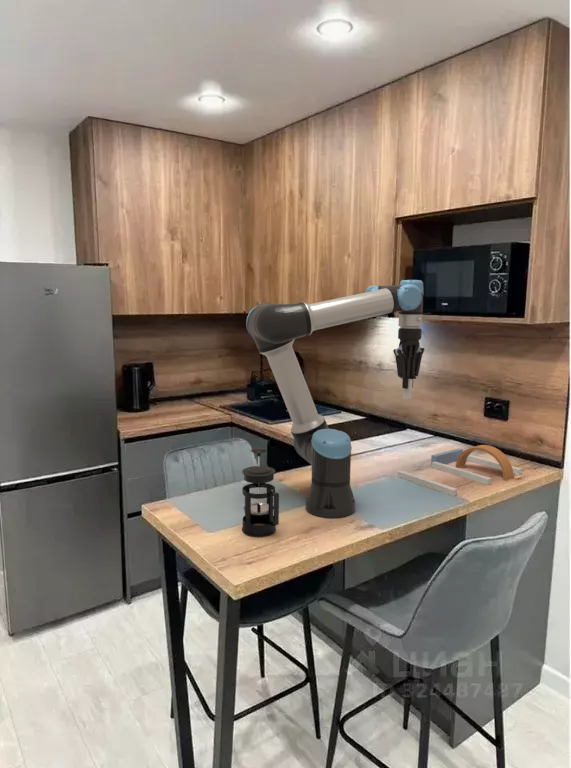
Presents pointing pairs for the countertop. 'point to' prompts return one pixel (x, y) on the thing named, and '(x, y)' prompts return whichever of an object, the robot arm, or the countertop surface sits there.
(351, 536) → the countertop surface
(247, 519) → the french press
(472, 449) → the arch
